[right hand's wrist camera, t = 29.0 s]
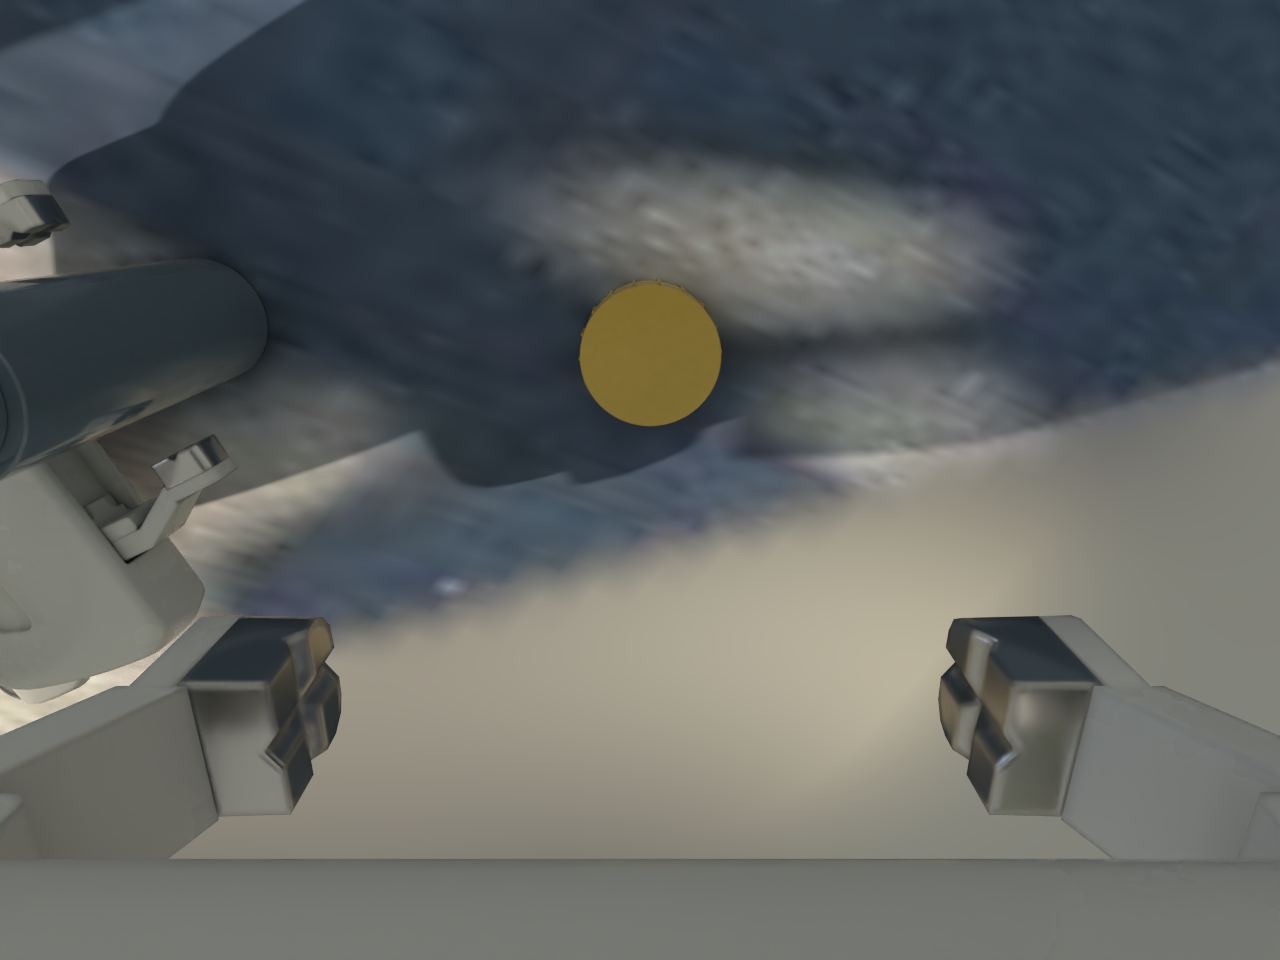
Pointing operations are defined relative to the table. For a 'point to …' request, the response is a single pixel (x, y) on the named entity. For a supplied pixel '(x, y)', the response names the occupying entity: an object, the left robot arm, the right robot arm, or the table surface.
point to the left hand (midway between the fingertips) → (136, 335)
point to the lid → (650, 353)
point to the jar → (116, 349)
